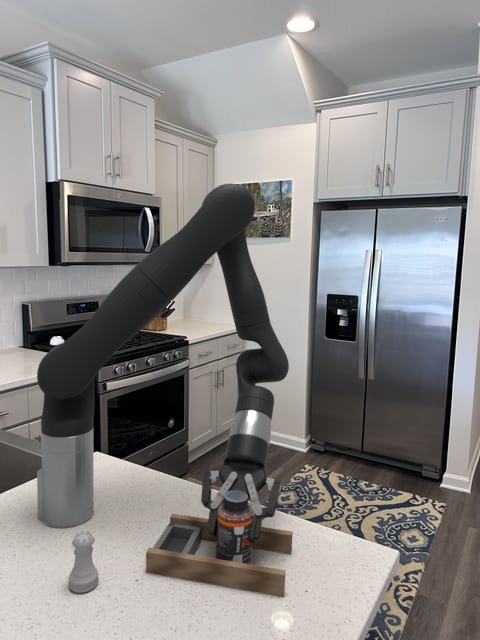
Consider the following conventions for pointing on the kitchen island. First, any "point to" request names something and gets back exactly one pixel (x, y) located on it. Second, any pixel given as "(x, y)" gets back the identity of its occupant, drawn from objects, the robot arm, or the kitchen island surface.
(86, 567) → the rook chess piece
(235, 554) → the supplement bottle
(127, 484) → the kitchen island surface
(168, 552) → the walnut channel
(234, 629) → the kitchen island surface
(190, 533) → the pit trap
